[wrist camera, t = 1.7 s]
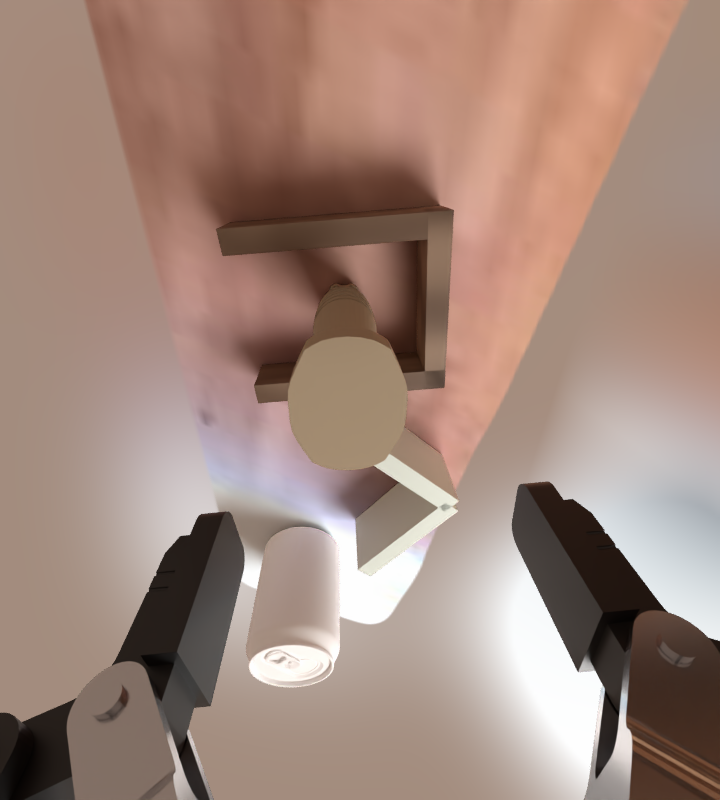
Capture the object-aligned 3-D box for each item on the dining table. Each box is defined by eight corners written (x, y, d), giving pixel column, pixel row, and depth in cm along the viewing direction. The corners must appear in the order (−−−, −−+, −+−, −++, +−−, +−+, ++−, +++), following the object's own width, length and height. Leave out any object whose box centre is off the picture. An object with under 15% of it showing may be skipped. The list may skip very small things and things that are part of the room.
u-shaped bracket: (230, 222, 25) (216, 229, 22) (440, 205, 25) (453, 210, 22) (265, 381, 32) (258, 403, 28) (434, 367, 32) (444, 387, 29)
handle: (313, 343, 30) (294, 471, 17) (308, 257, 27) (281, 337, 14) (374, 342, 30) (401, 469, 17) (377, 257, 27) (413, 335, 14)
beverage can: (306, 578, 45) (297, 698, 35) (250, 549, 42) (222, 671, 32) (354, 544, 43) (359, 663, 32) (298, 510, 39) (284, 630, 29)
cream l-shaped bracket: (341, 392, 32) (342, 433, 27) (446, 383, 32) (466, 423, 27) (356, 526, 41) (358, 577, 36) (438, 519, 41) (452, 568, 36)
